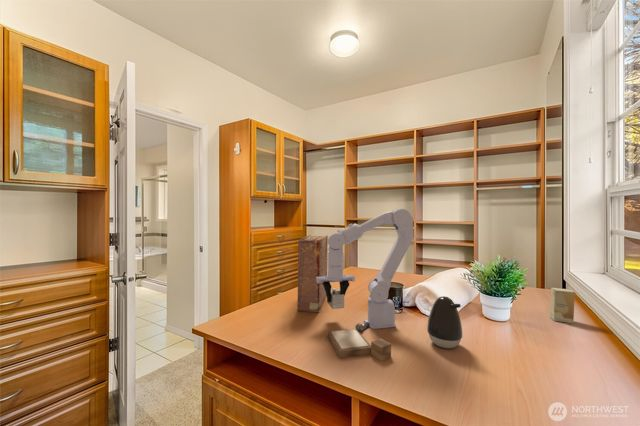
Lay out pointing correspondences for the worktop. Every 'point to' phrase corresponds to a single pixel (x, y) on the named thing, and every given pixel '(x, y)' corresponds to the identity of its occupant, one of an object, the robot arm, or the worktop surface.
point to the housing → (336, 299)
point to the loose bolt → (362, 326)
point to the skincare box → (562, 305)
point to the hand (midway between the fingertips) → (335, 301)
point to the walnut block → (381, 349)
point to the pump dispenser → (445, 323)
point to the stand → (349, 343)
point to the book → (311, 272)
